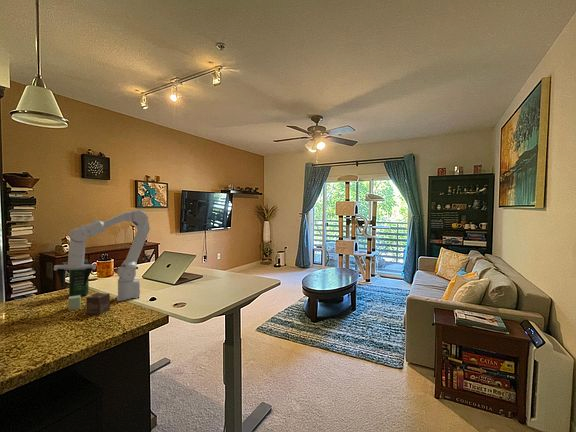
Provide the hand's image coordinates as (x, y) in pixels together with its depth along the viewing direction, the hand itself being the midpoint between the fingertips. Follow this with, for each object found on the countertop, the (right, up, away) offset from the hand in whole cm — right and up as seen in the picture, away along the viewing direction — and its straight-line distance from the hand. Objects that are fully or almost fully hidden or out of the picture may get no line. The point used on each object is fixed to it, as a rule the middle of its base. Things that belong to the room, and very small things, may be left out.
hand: (74, 285), depth 120 cm
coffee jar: (-12, -10, +19) cm, 24 cm away
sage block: (0, -10, 0) cm, 10 cm away
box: (+14, -10, -4) cm, 18 cm away
